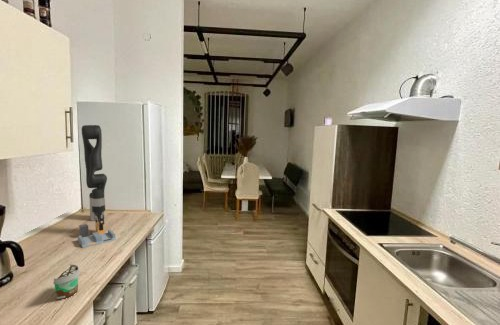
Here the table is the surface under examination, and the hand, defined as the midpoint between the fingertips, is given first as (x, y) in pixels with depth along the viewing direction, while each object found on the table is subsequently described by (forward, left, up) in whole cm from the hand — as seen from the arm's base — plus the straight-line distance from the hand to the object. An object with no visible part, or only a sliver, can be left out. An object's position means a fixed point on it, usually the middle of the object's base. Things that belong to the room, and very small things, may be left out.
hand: (99, 228), depth 176 cm
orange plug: (0, 0, -3) cm, 3 cm away
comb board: (+12, -4, -3) cm, 13 cm away
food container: (+63, -26, -3) cm, 68 cm away
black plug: (0, -9, -3) cm, 9 cm away
